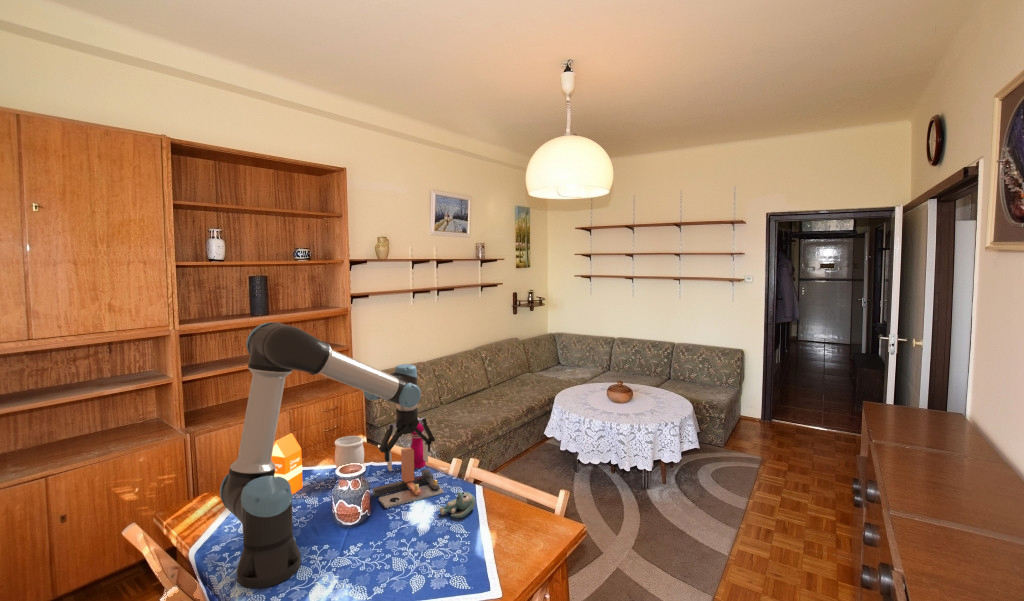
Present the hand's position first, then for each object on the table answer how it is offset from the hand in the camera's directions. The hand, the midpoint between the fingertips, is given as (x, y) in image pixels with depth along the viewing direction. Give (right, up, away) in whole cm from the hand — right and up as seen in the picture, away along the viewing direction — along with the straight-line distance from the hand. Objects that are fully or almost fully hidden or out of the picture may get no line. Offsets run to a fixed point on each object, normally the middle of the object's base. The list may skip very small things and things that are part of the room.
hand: (408, 465), depth 176 cm
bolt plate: (+3, -9, -7) cm, 11 cm away
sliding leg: (+2, -7, -3) cm, 8 cm away
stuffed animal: (+20, -10, -17) cm, 28 cm away
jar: (-23, -8, +7) cm, 26 cm away
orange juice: (-43, -9, -3) cm, 44 cm away
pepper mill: (0, -7, +19) cm, 20 cm away
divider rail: (+1, -8, -4) cm, 9 cm away
